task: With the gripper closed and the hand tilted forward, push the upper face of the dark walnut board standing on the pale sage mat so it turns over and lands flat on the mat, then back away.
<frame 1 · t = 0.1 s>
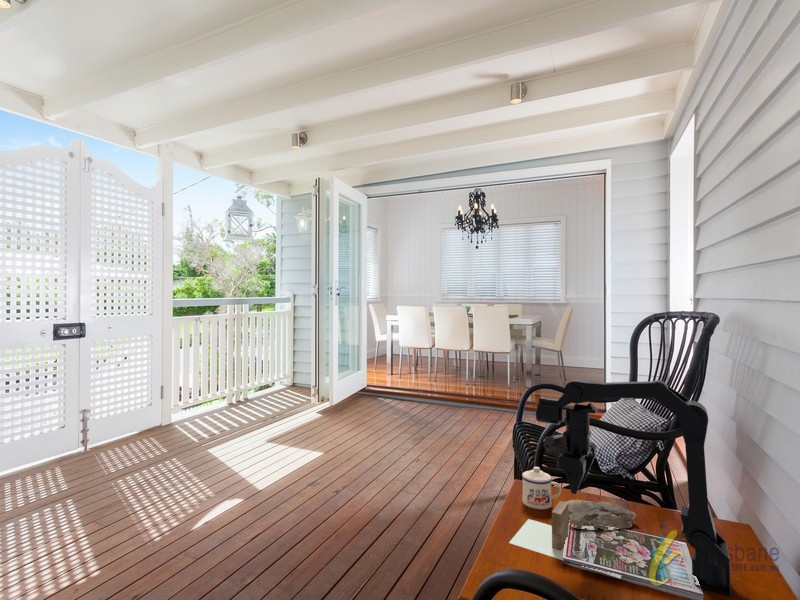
hand: (577, 487, 111), 15 cm above the table, tool pointing down, fingers open, 9 cm apart
grey rock: (599, 523, 123), on the table
sage mat: (568, 547, 109), on the table
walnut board: (560, 542, 110), point 1 cm above the table, touching sage mat
teacup with lid: (541, 505, 134), on the table
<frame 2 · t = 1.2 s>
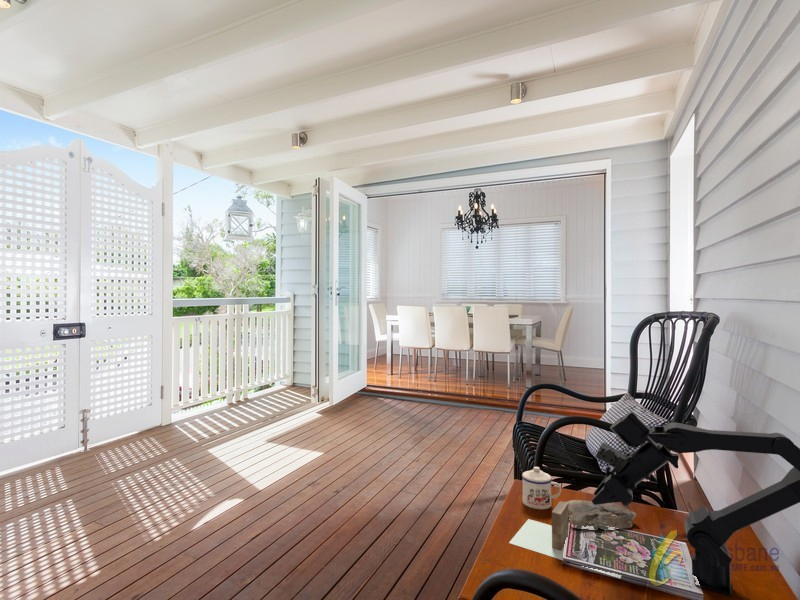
hand: (594, 498, 107), 14 cm above the table, tool tilted 45°, fingers open, 5 cm apart
nothing on the table moved.
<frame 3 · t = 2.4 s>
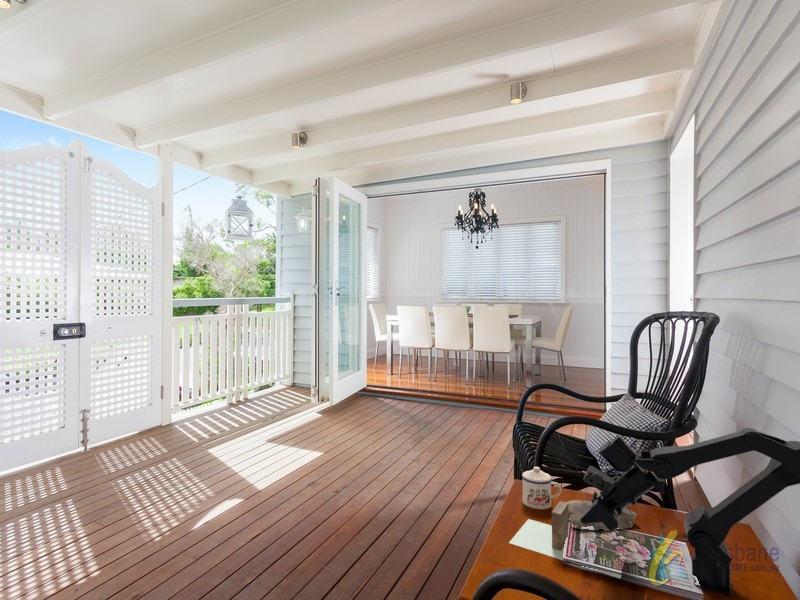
hand: (581, 521, 108), 7 cm above the table, tool tilted 45°, fingers closed
nothing on the table moved.
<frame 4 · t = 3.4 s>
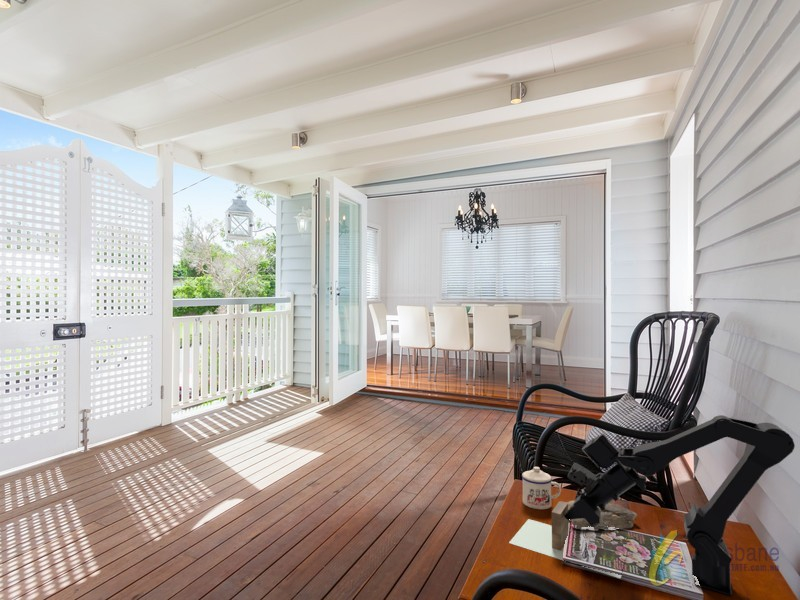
hand: (565, 517, 110), 7 cm above the table, tool tilted 45°, fingers closed
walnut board: (560, 542, 110), point 1 cm above the table, touching gripper, sage mat
everything else where it was.
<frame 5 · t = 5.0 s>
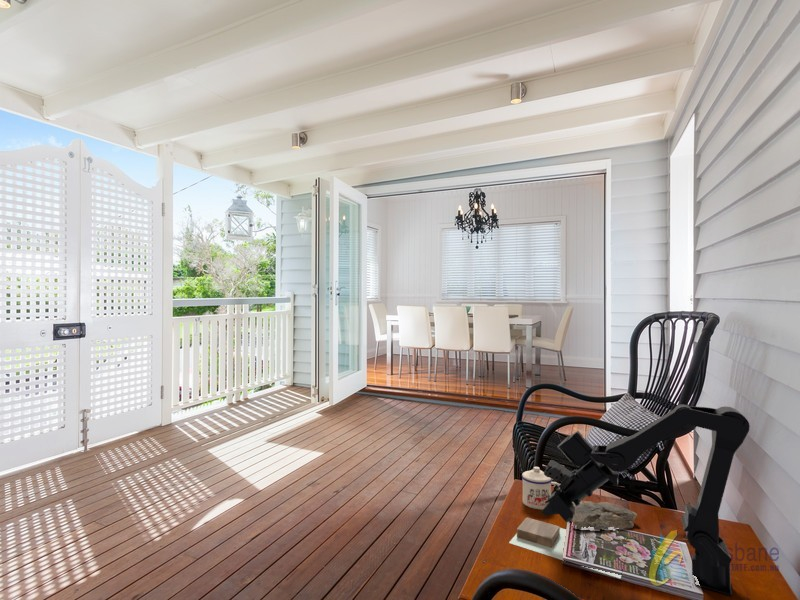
hand: (542, 513, 113), 7 cm above the table, tool tilted 45°, fingers closed
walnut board: (555, 536, 111), point 2 cm above the table, tilted 90°, touching sage mat
everything else where it was.
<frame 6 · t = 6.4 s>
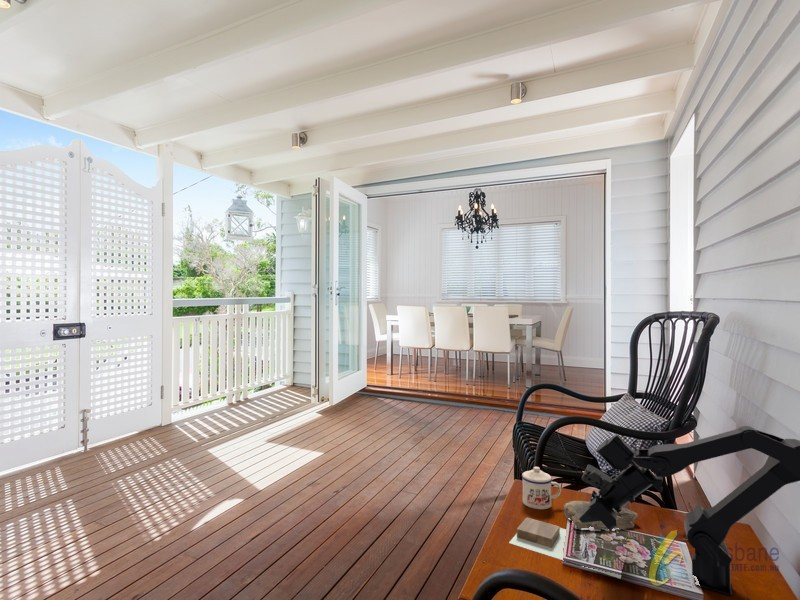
hand: (580, 520, 108), 7 cm above the table, tool tilted 45°, fingers closed
nothing on the table moved.
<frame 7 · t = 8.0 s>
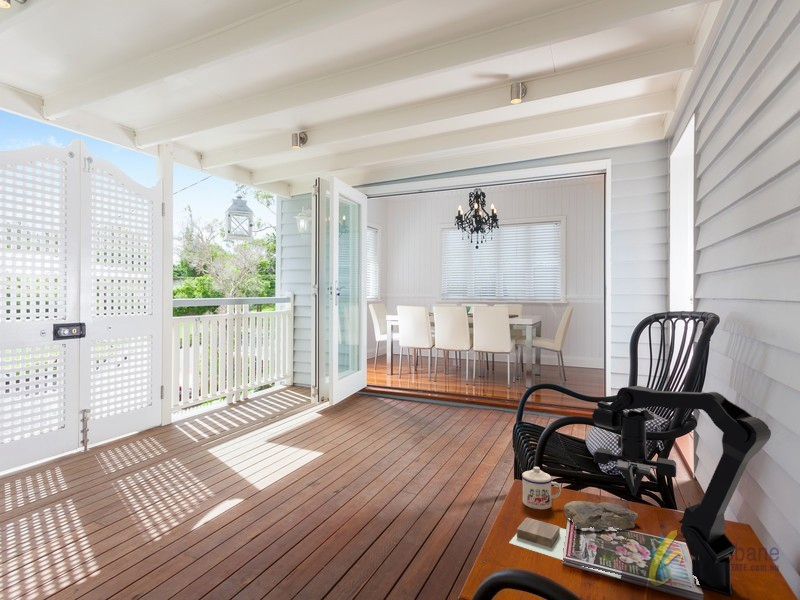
hand: (634, 494, 111), 13 cm above the table, tool pointing down, fingers closed
nothing on the table moved.
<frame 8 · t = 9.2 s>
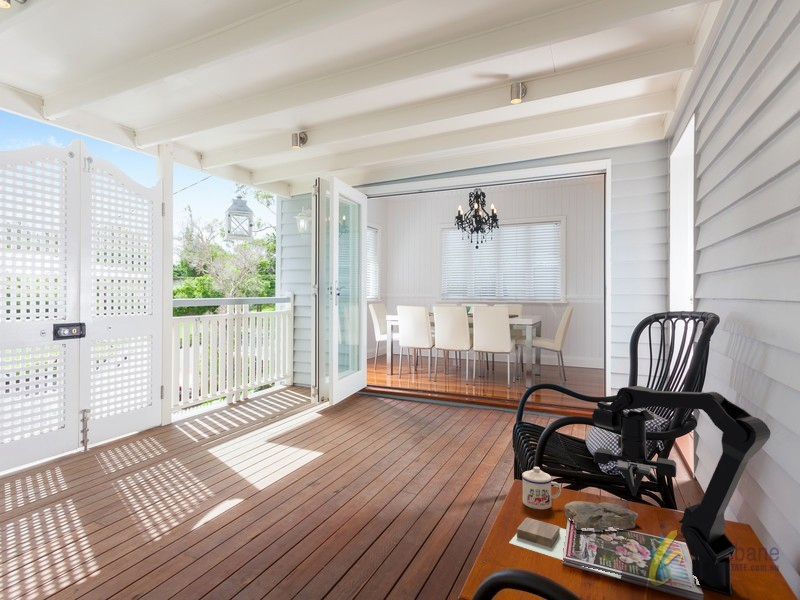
hand: (634, 494, 111), 13 cm above the table, tool pointing down, fingers closed
nothing on the table moved.
at the end: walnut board tilted 90°; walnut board inside the target area (2.8 cm from its centre), point 1.7 cm above the table; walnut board touching sage mat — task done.
